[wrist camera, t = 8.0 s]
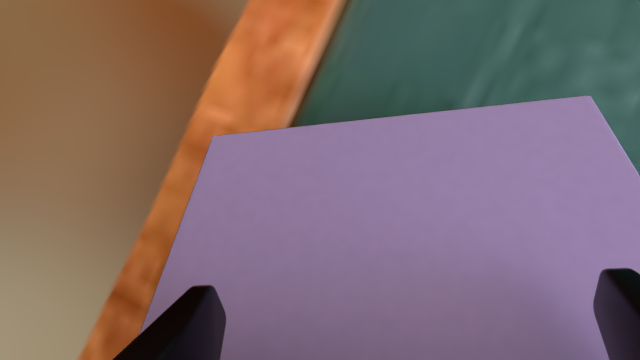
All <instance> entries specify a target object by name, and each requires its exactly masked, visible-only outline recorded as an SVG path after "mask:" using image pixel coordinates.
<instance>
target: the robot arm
mask: <svg viewBox="0 0 640 360" xmlns="http://www.w3.org/2000/svg"><path fill="white" fill-rule="evenodd" d="M593 310H594V315H595V318H596V321H597V324H598V327H599V330H600V333H601V336H602V339H603V342H604V345H605V348H606V351H607V354H608V357H609V360H640V274H639V273H638V272H636V271H635V270H633V269H630V268H606V269H603V270H602V271H601V273H600V275H599V279H598V283H597V287H596V292H595V296H594V300H593ZM225 327H226V313H225V310H224V307H223V305H222V303H221V300H220V298H219V296H218V293H217V291H216V289H215V287H213V286H212V285H195V286H192V287H190V288H189V289H188V290H187V291H186V292H185V293H184V294H183V295H181V296H180V297H179V298H178V299H177V300H176V301H175V302H174V303H173V304H172V305H171V306H170V307H169V308H168V309H166V310H165V311H164V312H163V313H162V314H161V315H160V316H159V317H158V318H157V319H156V320H155V321H154V322H152V323H151V324H150V325H149V326H148V327H147V328H146V329H145V330H144V331H143V332H142V333H141V334H140V335H138V336H137V337H136V338H135V339H134V340H133V341H132V342H131V343H130V344H129V345H128V346H127V347H126V348H125V349H123V350H122V351H121V352H120V353H119V354H118V355H117V356H116V357H115V358H114V359H113V360H220V357H221V351H222V345H223V339H224V333H225Z"/></svg>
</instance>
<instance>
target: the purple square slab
mask: <svg viewBox="0 0 640 360" xmlns="http://www.w3.org/2000/svg"><path fill="white" fill-rule="evenodd" d="M606 268H630V269H633V270H635V271H636V272H638V273H639V274H640V176H639V174H638V173H637V171H636V169H635V168H634V166H633V164H632V163H631V161H630V159H629V158H628V156H627V155H626V153H625V151H624V150H623V148H622V146H621V145H620V143H619V141H618V140H617V138H616V137H615V135H614V133H613V132H612V130H611V128H610V127H609V125H608V124H607V122H606V120H605V119H604V117H603V115H602V114H601V112H600V110H599V109H598V107H597V106H596V104H595V102H594V101H593V99H592V97H591V96H579V97H570V98H561V99H552V100H542V101H533V102H524V103H515V104H505V105H496V106H487V107H477V108H468V109H459V110H450V111H440V112H431V113H422V114H412V115H403V116H394V117H385V118H375V119H366V120H357V121H348V122H338V123H329V124H320V125H310V126H301V127H292V128H283V129H273V130H264V131H255V132H246V133H236V134H227V135H218V136H213V137H212V140H211V142H210V145H209V148H208V150H207V153H206V156H205V159H204V161H203V164H202V167H201V169H200V172H199V175H198V177H197V180H196V183H195V185H194V188H193V191H192V194H191V196H190V199H189V202H188V204H187V207H186V210H185V212H184V215H183V218H182V221H181V223H180V226H179V229H178V231H177V234H176V237H175V239H174V242H173V245H172V247H171V250H170V253H169V256H168V258H167V261H166V264H165V266H164V269H163V272H162V274H161V277H160V280H159V283H158V285H157V288H156V291H155V293H154V296H153V299H152V301H151V304H150V307H149V309H148V312H147V315H146V318H145V320H144V323H143V326H142V328H141V331H140V334H141V333H142V332H143V331H144V330H145V329H146V328H147V327H148V326H149V325H150V324H151V323H152V322H154V321H155V320H156V319H157V318H158V317H159V316H160V315H161V314H162V313H163V312H164V311H165V310H166V309H168V308H169V307H170V306H171V305H172V304H173V303H174V302H175V301H176V300H177V299H178V298H179V297H180V296H181V295H183V294H184V293H185V292H186V291H187V290H188V289H189V288H190V287H192V286H195V285H212V286H213V287H215V289H216V291H217V293H218V296H219V298H220V300H221V303H222V305H223V307H224V310H225V313H226V327H225V333H224V339H223V345H222V351H221V357H220V360H609V357H608V354H607V351H606V348H605V345H604V342H603V339H602V336H601V333H600V330H599V327H598V324H597V321H596V318H595V315H594V310H593V300H594V296H595V292H596V287H597V283H598V279H599V275H600V273H601V271H602V270H603V269H606ZM140 334H139V335H140Z"/></svg>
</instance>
